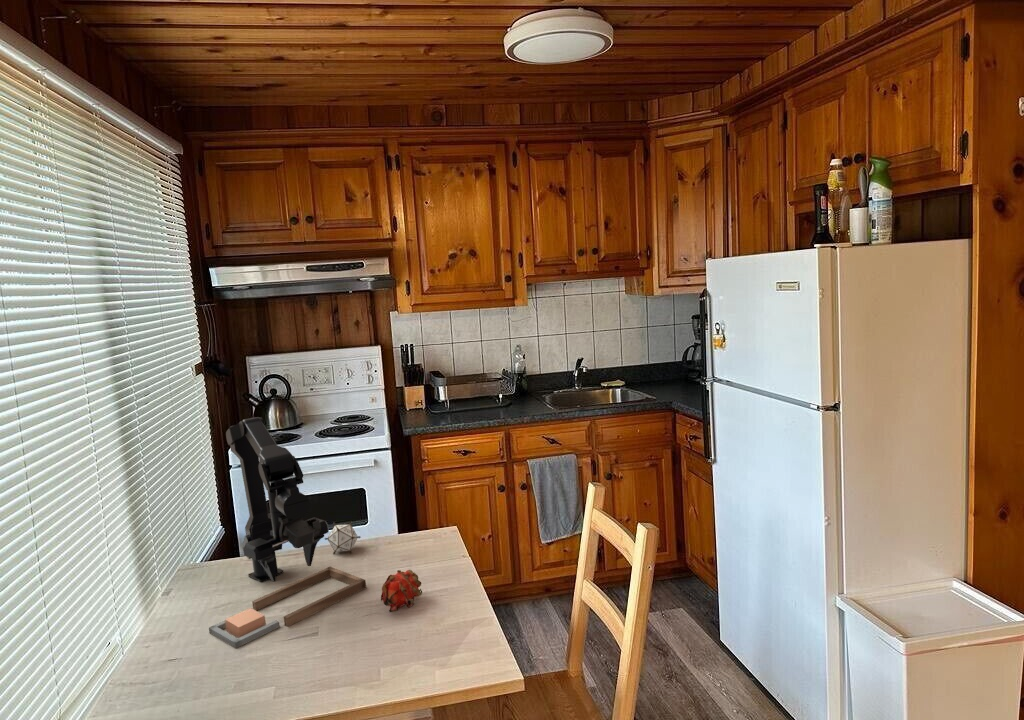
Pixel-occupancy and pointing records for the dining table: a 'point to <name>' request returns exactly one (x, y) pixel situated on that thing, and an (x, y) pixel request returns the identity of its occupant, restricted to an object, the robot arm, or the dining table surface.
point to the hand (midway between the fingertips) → (291, 573)
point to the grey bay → (237, 642)
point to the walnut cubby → (353, 587)
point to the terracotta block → (245, 622)
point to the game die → (342, 538)
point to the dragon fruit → (401, 589)
